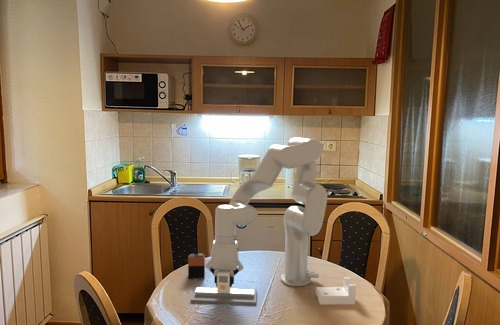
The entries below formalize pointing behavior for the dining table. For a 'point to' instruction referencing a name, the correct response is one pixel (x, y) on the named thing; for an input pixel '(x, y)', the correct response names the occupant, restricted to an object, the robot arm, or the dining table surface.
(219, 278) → the block
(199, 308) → the dining table surface
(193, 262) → the battery
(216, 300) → the mounting plate
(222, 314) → the dining table surface
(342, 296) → the bracket
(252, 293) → the rail
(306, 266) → the robot arm
